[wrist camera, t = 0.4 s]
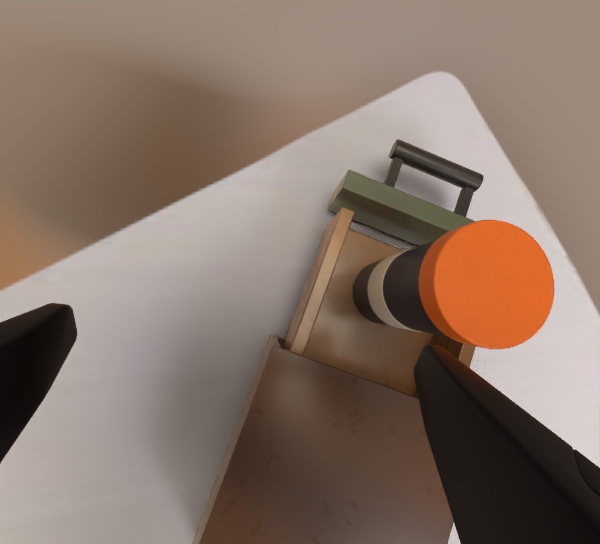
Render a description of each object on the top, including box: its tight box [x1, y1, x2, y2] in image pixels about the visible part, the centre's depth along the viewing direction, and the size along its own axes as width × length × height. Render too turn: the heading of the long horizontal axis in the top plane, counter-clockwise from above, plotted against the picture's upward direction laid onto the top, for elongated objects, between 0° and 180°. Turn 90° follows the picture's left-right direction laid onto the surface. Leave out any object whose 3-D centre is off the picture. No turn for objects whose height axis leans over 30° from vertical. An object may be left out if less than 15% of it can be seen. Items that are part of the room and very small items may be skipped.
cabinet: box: [193, 335, 454, 544], centre depth 20 cm, size 14×12×6 cm
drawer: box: [282, 139, 483, 397], centre depth 21 cm, size 16×11×4 cm, turn 160°
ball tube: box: [353, 220, 554, 349], centre depth 17 cm, size 4×4×11 cm
